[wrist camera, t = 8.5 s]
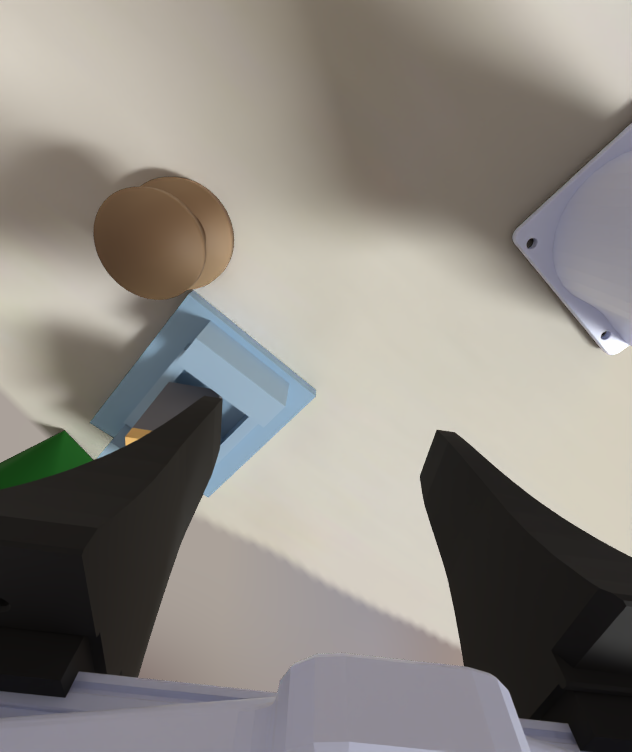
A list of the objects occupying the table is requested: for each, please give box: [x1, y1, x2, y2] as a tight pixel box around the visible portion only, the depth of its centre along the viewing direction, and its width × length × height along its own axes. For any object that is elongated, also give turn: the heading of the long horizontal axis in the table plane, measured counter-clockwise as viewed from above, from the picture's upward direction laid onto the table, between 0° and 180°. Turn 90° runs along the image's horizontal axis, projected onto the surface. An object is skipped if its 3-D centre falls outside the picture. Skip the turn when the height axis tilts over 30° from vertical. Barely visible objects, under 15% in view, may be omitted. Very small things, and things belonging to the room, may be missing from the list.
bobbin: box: [94, 177, 234, 300], centre depth 17 cm, size 5×5×4 cm
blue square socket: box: [90, 290, 316, 497], centre depth 22 cm, size 9×11×3 cm
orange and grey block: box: [125, 382, 222, 445], centre depth 20 cm, size 3×4×5 cm
